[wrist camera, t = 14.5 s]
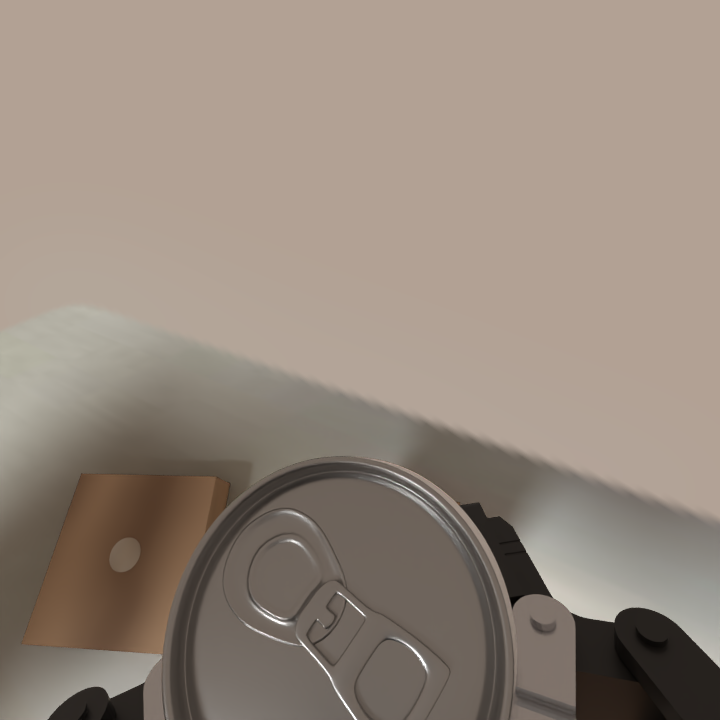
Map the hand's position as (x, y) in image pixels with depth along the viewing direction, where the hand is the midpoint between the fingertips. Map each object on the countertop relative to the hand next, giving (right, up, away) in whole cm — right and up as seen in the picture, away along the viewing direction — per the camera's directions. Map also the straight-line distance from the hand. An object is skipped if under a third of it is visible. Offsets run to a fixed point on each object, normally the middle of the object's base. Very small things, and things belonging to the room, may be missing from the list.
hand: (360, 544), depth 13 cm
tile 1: (-12, -5, +9) cm, 16 cm away
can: (+1, -4, +4) cm, 6 cm away
